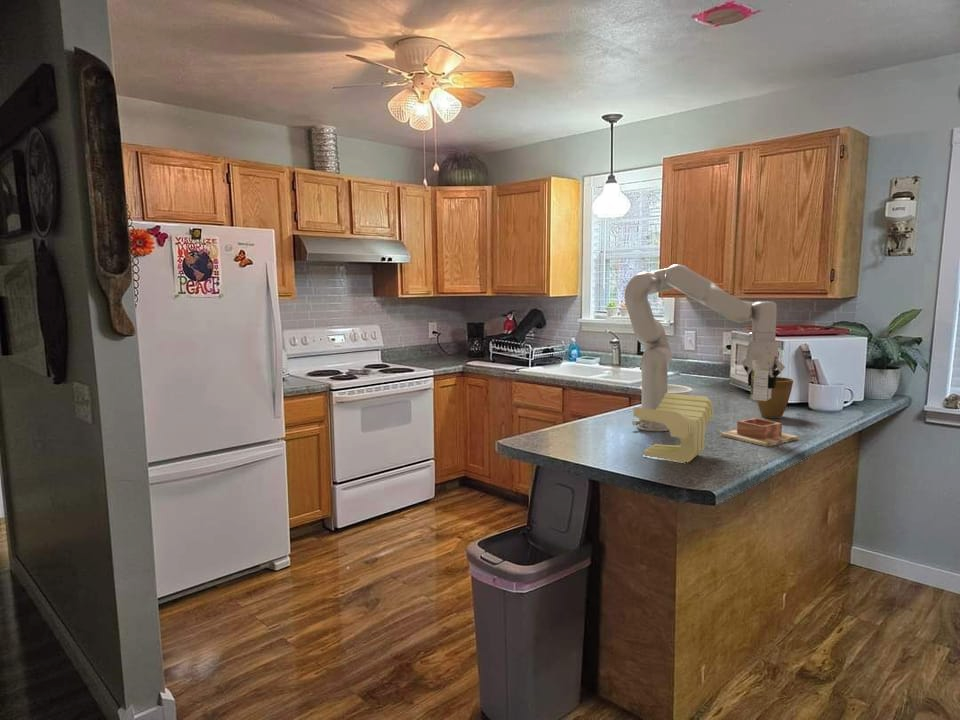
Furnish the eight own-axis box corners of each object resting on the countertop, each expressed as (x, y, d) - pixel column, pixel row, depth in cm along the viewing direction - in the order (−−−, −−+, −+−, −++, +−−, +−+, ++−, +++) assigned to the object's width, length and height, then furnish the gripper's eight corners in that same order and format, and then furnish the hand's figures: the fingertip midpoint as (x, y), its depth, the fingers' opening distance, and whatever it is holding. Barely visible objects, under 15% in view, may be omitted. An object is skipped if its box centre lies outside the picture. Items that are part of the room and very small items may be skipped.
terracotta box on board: (766, 446, 205) (767, 430, 204) (721, 436, 220) (721, 420, 219) (797, 439, 214) (798, 423, 213) (752, 429, 229) (752, 414, 229)
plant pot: (799, 417, 249) (801, 379, 247) (776, 422, 242) (778, 382, 240) (766, 411, 262) (768, 374, 260) (743, 415, 254) (745, 377, 253)
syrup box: (754, 397, 219) (756, 357, 218) (772, 399, 216) (773, 358, 214) (749, 399, 215) (751, 359, 213) (767, 401, 211) (769, 360, 210)
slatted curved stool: (684, 472, 178) (686, 413, 176) (632, 463, 187) (633, 407, 185) (711, 449, 202) (713, 397, 200) (664, 443, 211) (665, 392, 209)
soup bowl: (628, 401, 288) (628, 387, 287) (657, 395, 303) (658, 382, 302) (673, 409, 269) (673, 394, 268) (702, 402, 285) (702, 388, 284)
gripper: (735, 335, 218) (733, 384, 220) (780, 338, 203) (777, 391, 205) (748, 334, 222) (746, 382, 224) (793, 337, 207) (791, 389, 209)
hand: (761, 386), depth 215 cm, fingers closed on syrup box, 7 cm apart
